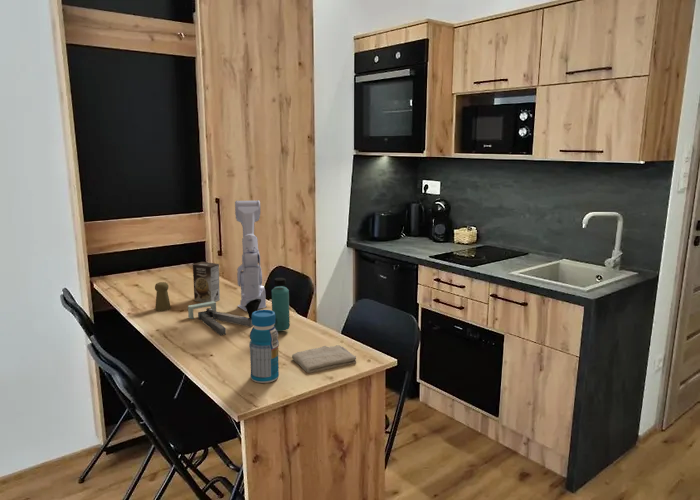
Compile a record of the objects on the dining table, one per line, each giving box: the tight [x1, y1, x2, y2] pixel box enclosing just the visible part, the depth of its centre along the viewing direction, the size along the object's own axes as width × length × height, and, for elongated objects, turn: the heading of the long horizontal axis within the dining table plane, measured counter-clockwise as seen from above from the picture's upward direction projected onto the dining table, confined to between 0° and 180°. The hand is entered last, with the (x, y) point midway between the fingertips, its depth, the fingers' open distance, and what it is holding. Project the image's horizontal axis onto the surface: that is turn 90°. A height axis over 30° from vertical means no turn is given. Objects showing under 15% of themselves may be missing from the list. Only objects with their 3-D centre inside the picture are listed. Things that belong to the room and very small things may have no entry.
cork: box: [154, 281, 172, 312], centre depth 214 cm, size 6×6×11 cm
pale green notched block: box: [187, 301, 217, 320], centre depth 207 cm, size 10×2×5 cm, turn 126°
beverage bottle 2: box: [271, 277, 291, 332], centre depth 191 cm, size 6×7×20 cm
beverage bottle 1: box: [248, 309, 280, 384], centre depth 154 cm, size 8×8×20 cm
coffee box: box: [192, 261, 221, 303], centre depth 226 cm, size 9×6×16 cm
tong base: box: [197, 310, 227, 336], centre depth 198 cm, size 5×22×2 cm, turn 36°
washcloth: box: [291, 344, 357, 374], centre depth 168 cm, size 12×18×3 cm, turn 120°
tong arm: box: [205, 307, 254, 328], centre depth 202 cm, size 2×21×3 cm, turn 64°
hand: (252, 318), depth 202 cm, fingers closed
